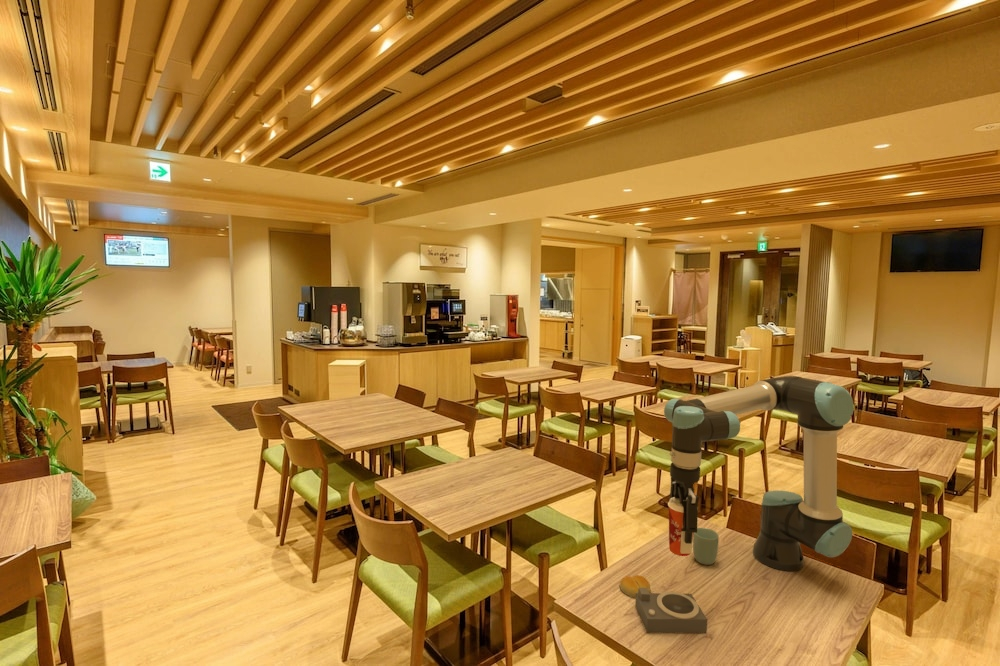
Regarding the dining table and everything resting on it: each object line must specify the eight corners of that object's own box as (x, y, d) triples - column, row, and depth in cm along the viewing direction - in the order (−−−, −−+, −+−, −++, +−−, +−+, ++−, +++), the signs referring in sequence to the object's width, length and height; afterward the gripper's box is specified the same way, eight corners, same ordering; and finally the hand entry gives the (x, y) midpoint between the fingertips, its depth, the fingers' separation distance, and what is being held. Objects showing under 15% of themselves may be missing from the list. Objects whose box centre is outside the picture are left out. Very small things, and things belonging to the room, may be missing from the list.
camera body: (690, 606, 144) (691, 587, 143) (706, 633, 133) (707, 612, 132) (635, 606, 144) (636, 586, 143) (647, 632, 133) (648, 611, 132)
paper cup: (667, 556, 133) (670, 506, 132) (663, 542, 141) (665, 494, 139) (698, 559, 132) (701, 509, 130) (692, 544, 140) (695, 496, 138)
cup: (712, 555, 171) (714, 528, 170) (720, 568, 163) (722, 539, 162) (689, 554, 172) (690, 526, 171) (695, 567, 164) (697, 538, 163)
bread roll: (615, 584, 155) (616, 571, 154) (642, 581, 156) (643, 569, 156) (626, 600, 147) (627, 588, 146) (655, 598, 148) (656, 585, 148)
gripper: (659, 451, 143) (655, 527, 146) (685, 478, 124) (680, 565, 126) (685, 452, 144) (681, 528, 146) (715, 478, 124) (709, 566, 127)
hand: (680, 545), depth 136 cm, fingers closed on paper cup, 7 cm apart
